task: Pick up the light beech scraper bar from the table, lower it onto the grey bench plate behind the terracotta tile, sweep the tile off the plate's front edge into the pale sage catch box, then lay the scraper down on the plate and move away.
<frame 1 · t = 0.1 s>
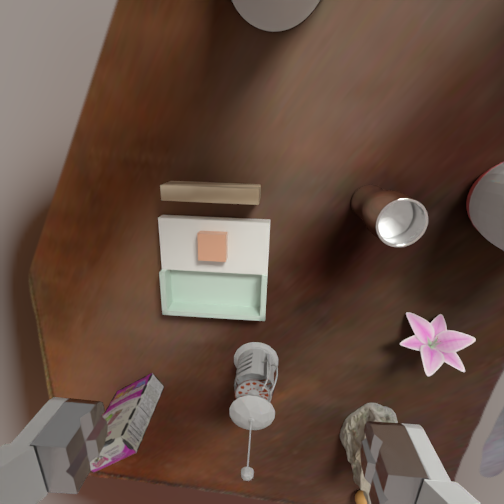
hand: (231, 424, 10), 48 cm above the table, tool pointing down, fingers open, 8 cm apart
beech scraper: (216, 189, 55), on the table
french press: (258, 357, 67), on the table
beer glass: (368, 201, 54), on the table
beige jagged lump: (374, 431, 72), on the table
catch box: (216, 287, 62), on the table
lily: (423, 327, 62), on the table
terracotta tile: (213, 244, 56), point 2 cm above the table, touching bench plate
bench plate: (216, 242, 58), on the table
figurine: (357, 489, 79), on the table
candy bar box: (141, 388, 72), on the table
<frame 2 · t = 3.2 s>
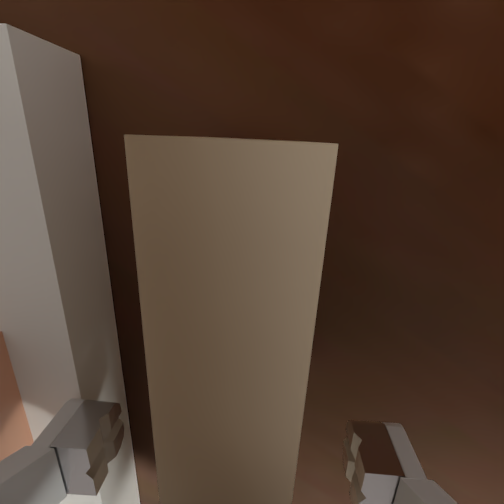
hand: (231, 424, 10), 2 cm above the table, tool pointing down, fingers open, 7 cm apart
beech scraper: (247, 358, 12), on the table
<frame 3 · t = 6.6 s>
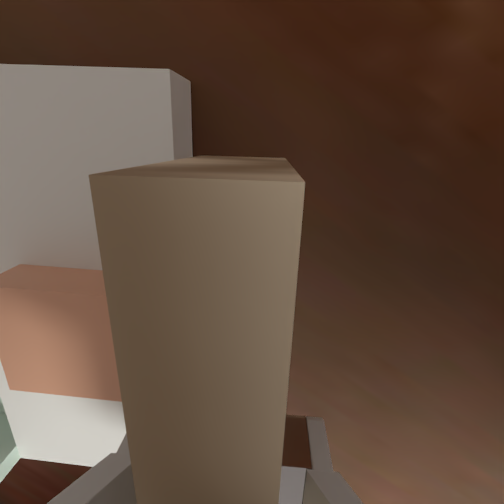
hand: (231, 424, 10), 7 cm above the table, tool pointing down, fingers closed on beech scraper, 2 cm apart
beech scraper: (239, 374, 12), point 4 cm above the table, touching gripper
terracotta tile: (84, 318, 14), point 2 cm above the table, touching bench plate
bench plate: (103, 291, 16), on the table
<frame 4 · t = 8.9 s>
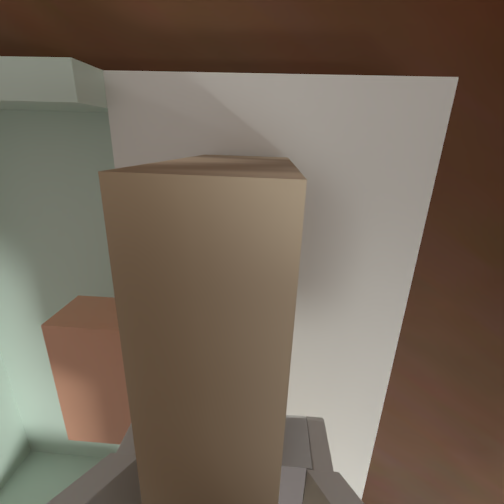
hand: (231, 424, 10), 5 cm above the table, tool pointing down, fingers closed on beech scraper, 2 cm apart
beech scraper: (241, 371, 12), point 3 cm above the table, touching gripper
catch box: (68, 313, 15), on the table
terracotta tile: (148, 354, 12), point 3 cm above the table
bench plate: (263, 326, 14), on the table
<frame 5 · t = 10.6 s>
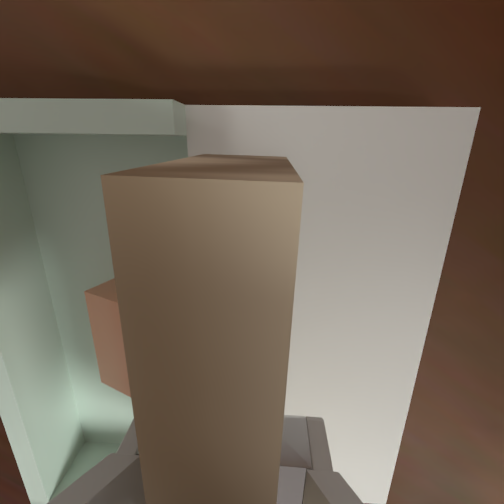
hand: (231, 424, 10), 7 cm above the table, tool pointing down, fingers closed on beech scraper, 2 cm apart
beech scraper: (240, 367, 12), point 4 cm above the table, touching gripper
catch box: (125, 313, 17), on the table
terracotta tile: (164, 332, 15), point 2 cm above the table, tilted 25°, touching bench plate, catch box
bench plate: (302, 319, 16), on the table
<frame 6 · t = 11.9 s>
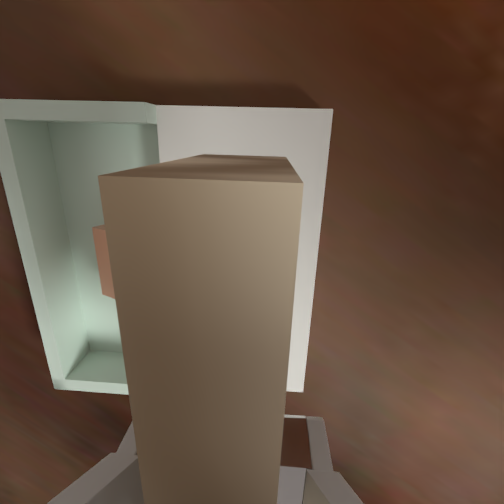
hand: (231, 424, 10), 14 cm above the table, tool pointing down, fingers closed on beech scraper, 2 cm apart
beech scraper: (240, 368, 12), point 12 cm above the table, touching gripper
catch box: (120, 251, 24), on the table
terracotta tile: (145, 260, 22), point 2 cm above the table, tilted 25°, touching bench plate, catch box
bench plate: (244, 257, 23), on the table
when the fingers open (6 cm above the table, at t = 13.4 s): beech scraper drops 1 cm, resting on bench plate.
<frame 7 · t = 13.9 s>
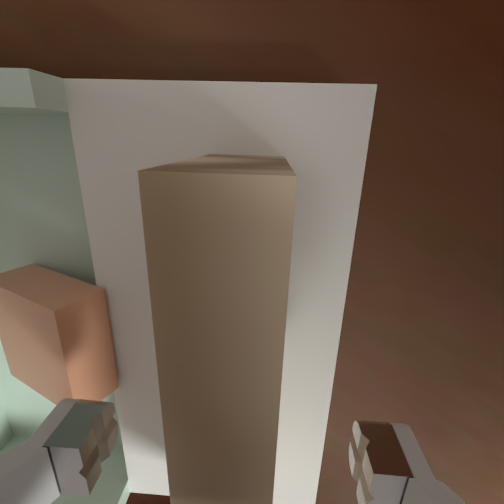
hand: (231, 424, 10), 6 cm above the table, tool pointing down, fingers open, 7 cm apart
beech scraper: (243, 350, 13), point 2 cm above the table, touching bench plate
catch box: (45, 303, 16), on the table
terracotta tile: (75, 324, 14), point 2 cm above the table, tilted 25°, touching bench plate, catch box
bench plate: (227, 314, 15), on the table
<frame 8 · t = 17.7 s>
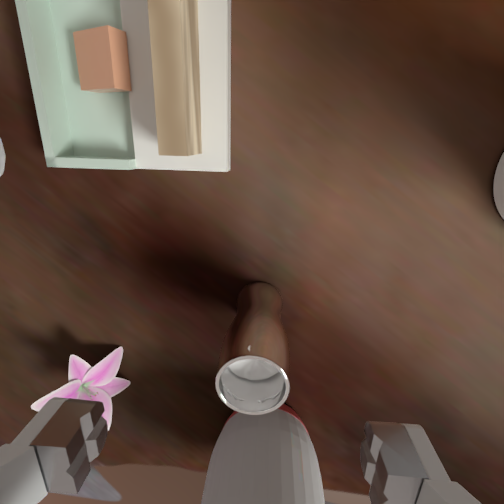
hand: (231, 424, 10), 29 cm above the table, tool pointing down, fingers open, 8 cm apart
beech scraper: (186, 66, 30), point 2 cm above the table, touching bench plate
beer glass: (259, 301, 41), on the table
catch box: (95, 67, 33), on the table
lily: (106, 368, 47), on the table
terracotta tile: (111, 64, 31), point 2 cm above the table, tilted 25°, touching bench plate, catch box
bench plate: (183, 69, 32), on the table
citrus juicer: (264, 428, 49), on the table
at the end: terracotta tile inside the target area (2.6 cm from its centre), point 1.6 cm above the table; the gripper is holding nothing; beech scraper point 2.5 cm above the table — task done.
